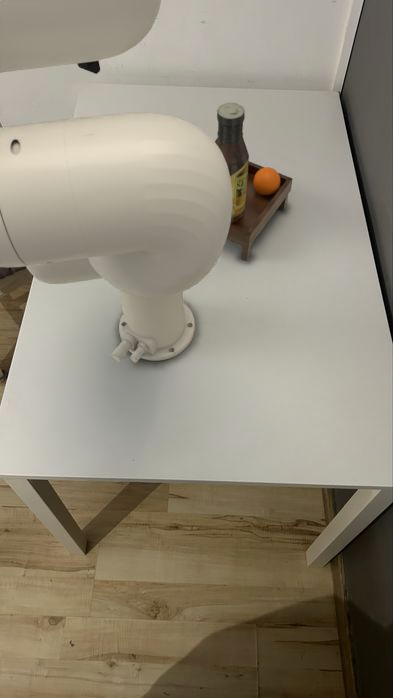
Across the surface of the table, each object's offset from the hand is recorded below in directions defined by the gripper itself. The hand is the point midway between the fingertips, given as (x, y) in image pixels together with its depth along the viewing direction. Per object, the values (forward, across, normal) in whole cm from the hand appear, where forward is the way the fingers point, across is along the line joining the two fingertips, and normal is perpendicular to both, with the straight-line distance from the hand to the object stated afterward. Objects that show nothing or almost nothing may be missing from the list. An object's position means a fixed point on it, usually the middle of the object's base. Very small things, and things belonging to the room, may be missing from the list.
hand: (112, 50), depth 64 cm
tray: (+34, +12, -13) cm, 39 cm away
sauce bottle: (+30, +8, -13) cm, 33 cm away
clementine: (+29, +16, -16) cm, 37 cm away
